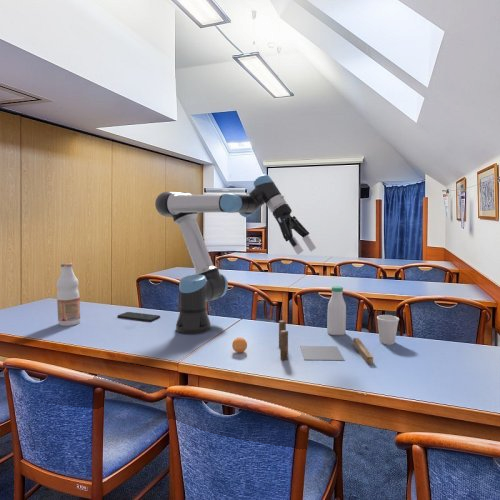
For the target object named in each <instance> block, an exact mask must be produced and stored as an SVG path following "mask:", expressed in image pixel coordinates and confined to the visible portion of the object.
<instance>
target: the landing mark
mask: <svg viewBox="0 0 500 500" xmlns="http://www.w3.org/2000/svg"><path fill="white" fill-rule="evenodd" d="M299 347H300V349H301V354H302V357H303V361H341V362H342V361H344V362H345V361H346V360H345V358H344V356H343V355H342V352H341V351H340V349H339V347H338V346H336V345H334V346H333V345H300V346H299Z"/></svg>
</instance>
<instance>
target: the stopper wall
mask: <svg viewBox="0 0 500 500" xmlns="http://www.w3.org/2000/svg"><path fill="white" fill-rule="evenodd" d="M352 342H353V346H354V347H355V349H356V350H357V352H358V353H359V355H360V356H361V357H362V359H363V360H364V362H365V363H366V364H367V365H374V357H373V355H372V353H371V352H370V351H369V350H368V348H367V347H366V346H365V344H364V343H363V342H362V341H361V339H360V338H359V337H355V338H354V337H353V340H352Z"/></svg>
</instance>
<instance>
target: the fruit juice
mask: <svg viewBox="0 0 500 500" xmlns="http://www.w3.org/2000/svg"><path fill="white" fill-rule="evenodd" d="M73 265H74V264H73V263H72V262H67V263H66V262H65V263H61V264H60V267H61V271H60V274H59V277H58V279H57V280H56V287H57V292H56V301H57V302H56V303H57V322H58V325H59V326H61V327H69V326H77V325H79V324H80V323H81V303H80V299H81V298H80V291H79V288H78V287H79V279H78V278H77V276H76V275H75V273H74V270H73V267H74V266H73Z"/></svg>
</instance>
